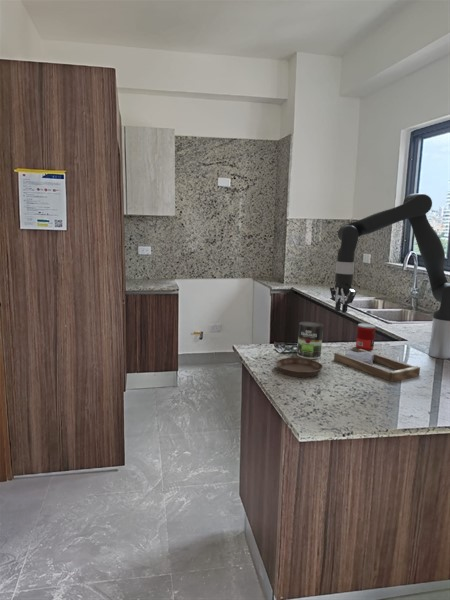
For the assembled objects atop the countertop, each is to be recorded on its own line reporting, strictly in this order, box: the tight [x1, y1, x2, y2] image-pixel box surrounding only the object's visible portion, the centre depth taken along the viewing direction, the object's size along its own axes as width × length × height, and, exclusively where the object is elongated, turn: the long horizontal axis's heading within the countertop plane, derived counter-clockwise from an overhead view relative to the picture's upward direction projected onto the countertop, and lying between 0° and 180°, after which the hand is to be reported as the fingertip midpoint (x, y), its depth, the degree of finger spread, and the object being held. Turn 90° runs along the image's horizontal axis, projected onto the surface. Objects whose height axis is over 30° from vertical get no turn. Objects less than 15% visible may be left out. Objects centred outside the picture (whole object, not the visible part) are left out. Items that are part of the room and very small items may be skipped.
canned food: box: [355, 322, 376, 351], centre depth 214 cm, size 8×8×11 cm
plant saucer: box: [275, 357, 324, 378], centre depth 176 cm, size 18×18×3 cm
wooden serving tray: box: [333, 348, 421, 383], centre depth 185 cm, size 16×30×3 cm, turn 32°
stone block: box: [344, 349, 374, 366], centre depth 192 cm, size 12×5×10 cm
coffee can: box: [296, 321, 325, 360], centre depth 196 cm, size 10×10×14 cm
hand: (340, 311), depth 199 cm, fingers open, 3 cm apart
